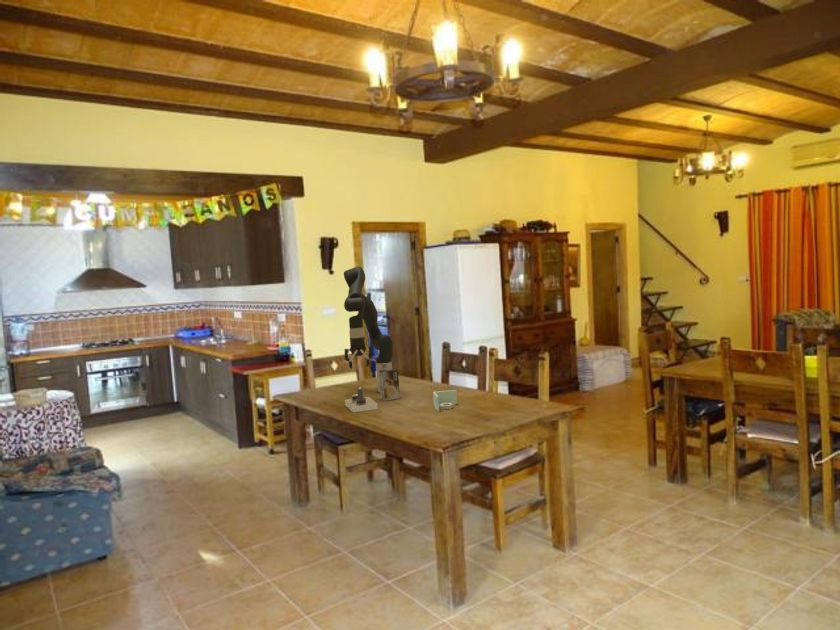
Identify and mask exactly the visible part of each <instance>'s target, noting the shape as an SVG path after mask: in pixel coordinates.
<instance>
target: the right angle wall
mask: <svg viewBox="0 0 840 630" xmlns="http://www.w3.org/2000/svg"><path fill="white" fill-rule="evenodd" d="M457 392H458V391H457V389H452V390H449V389H448V390H441V391H439V390H438V391H433V392H432V394H433V395H432V396H433V397H432V398H433V407H434V409H435V410H436V411H437V413H438V412H440V410H443V409H444V411H445V410H446V411H448V409H449V410H452V409H451V408H453V409H454V406H455V404H457V405H458V393H457Z"/></svg>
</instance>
